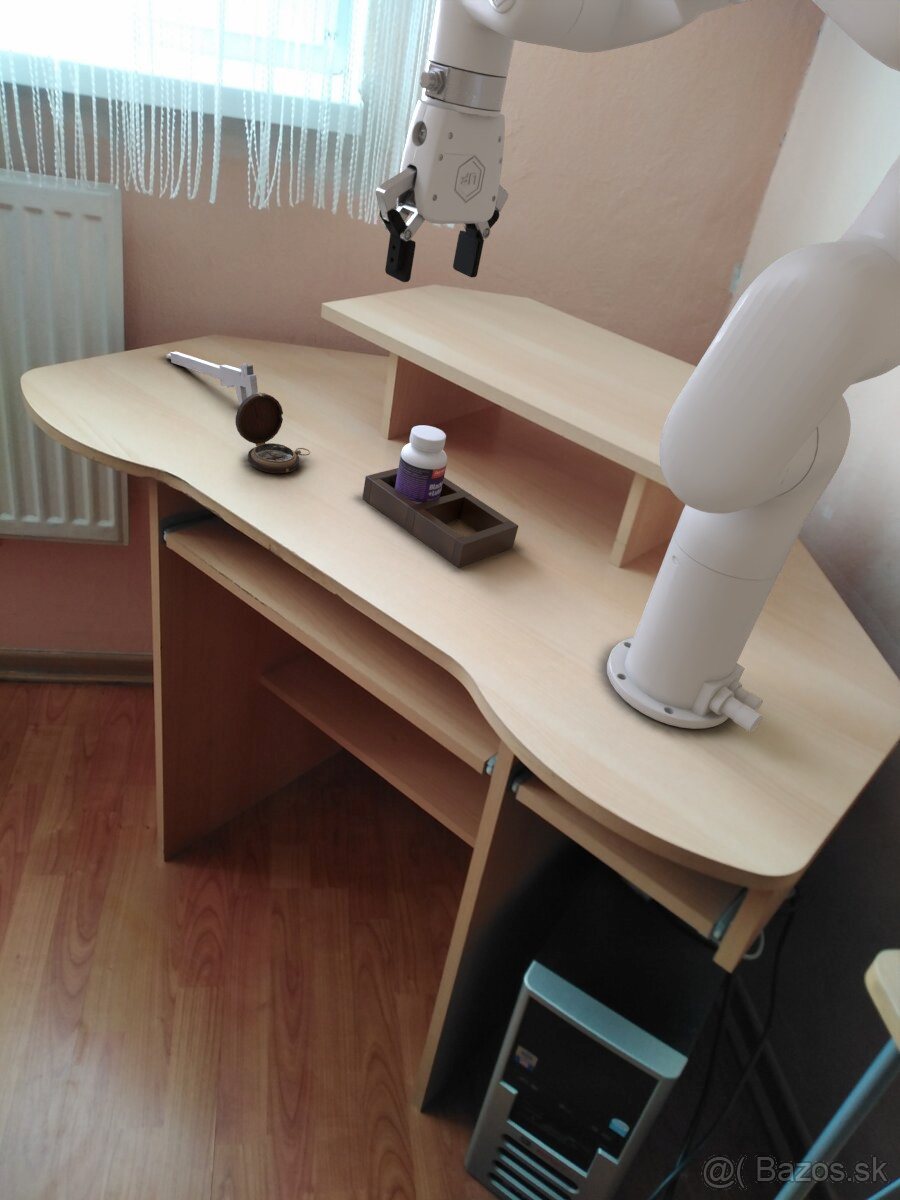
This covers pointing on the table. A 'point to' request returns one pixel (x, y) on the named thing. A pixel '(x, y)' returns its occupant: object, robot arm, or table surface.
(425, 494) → the pill bottle
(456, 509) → the tray
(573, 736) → the table surface
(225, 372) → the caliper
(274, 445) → the compass
